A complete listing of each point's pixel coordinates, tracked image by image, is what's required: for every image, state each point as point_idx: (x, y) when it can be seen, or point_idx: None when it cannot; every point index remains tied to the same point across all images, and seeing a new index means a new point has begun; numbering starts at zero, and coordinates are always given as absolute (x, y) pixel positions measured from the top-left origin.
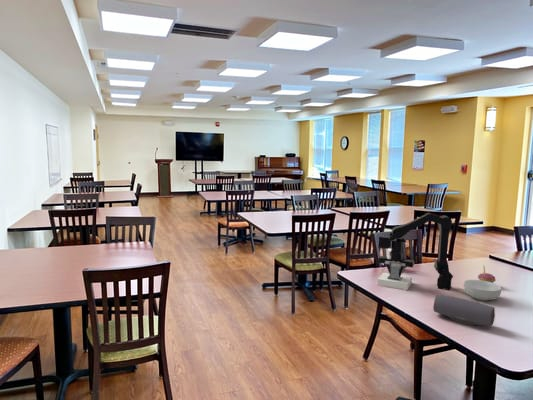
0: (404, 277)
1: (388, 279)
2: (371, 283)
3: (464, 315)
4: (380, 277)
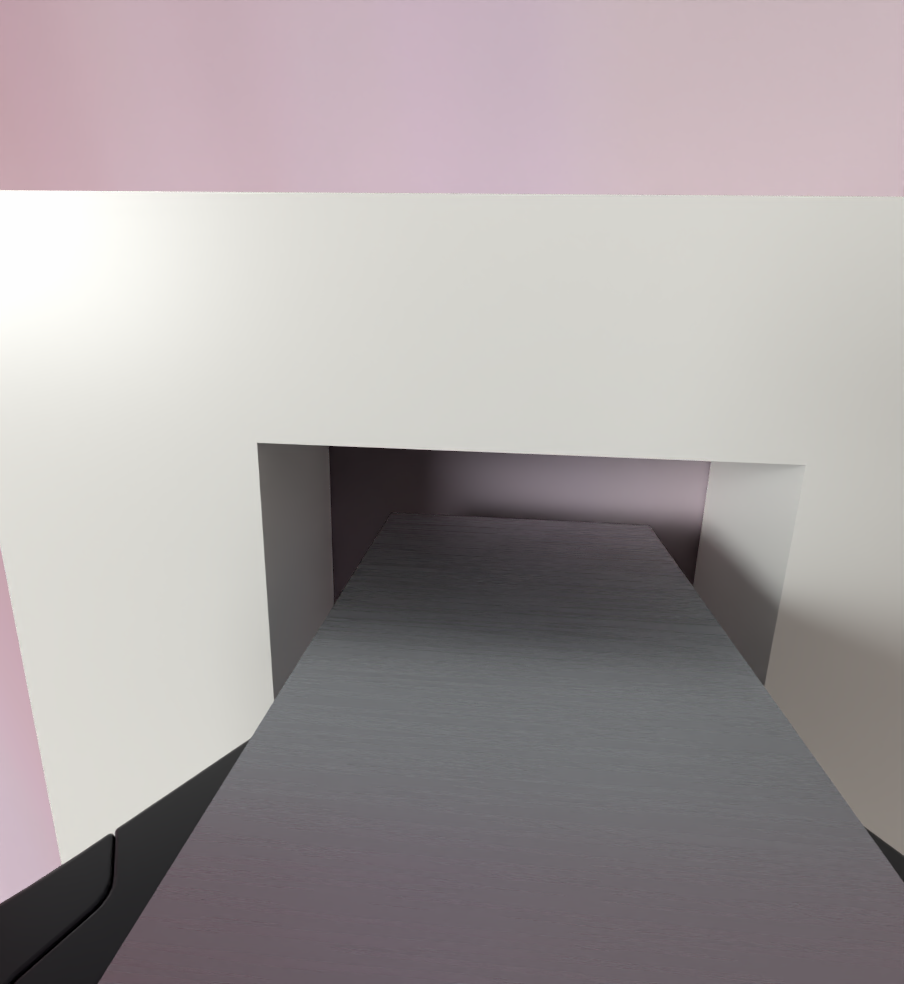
0: (860, 467)
1: None
2: (37, 781)
3: None
4: (90, 828)
